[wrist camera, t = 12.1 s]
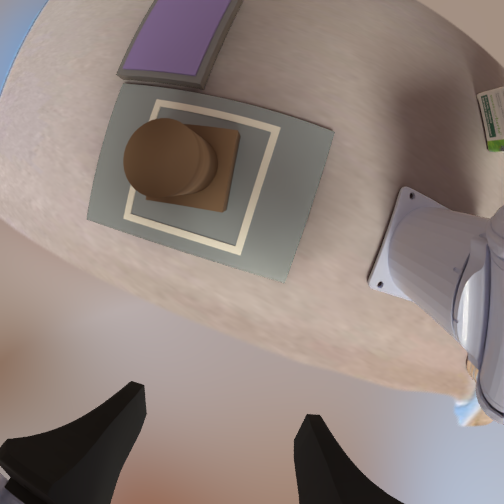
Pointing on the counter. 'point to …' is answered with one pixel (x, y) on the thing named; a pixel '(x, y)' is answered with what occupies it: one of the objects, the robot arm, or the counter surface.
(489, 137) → the syrup box
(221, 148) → the stamp
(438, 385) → the counter surface
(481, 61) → the counter surface
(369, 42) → the counter surface
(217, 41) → the ink pad
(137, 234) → the board
